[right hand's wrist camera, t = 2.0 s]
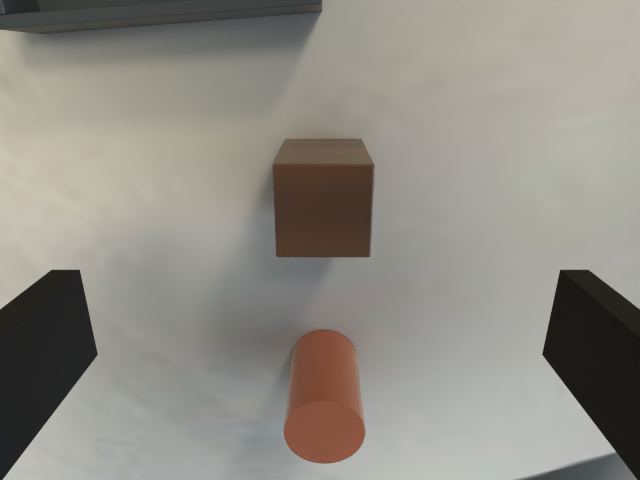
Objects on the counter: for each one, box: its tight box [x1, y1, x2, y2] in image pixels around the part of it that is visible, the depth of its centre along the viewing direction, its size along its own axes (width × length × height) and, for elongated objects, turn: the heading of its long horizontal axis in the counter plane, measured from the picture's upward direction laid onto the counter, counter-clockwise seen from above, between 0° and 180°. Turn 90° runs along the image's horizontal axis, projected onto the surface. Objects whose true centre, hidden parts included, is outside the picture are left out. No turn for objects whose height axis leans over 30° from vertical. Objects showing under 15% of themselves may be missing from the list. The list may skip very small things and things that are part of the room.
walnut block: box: [273, 139, 374, 257], centre depth 24 cm, size 4×4×7 cm
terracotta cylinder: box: [284, 330, 365, 463], centre depth 29 cm, size 5×5×7 cm
